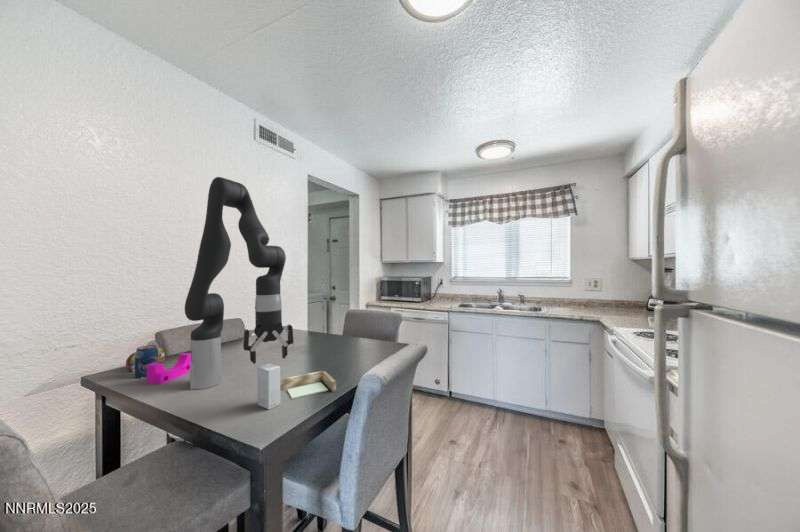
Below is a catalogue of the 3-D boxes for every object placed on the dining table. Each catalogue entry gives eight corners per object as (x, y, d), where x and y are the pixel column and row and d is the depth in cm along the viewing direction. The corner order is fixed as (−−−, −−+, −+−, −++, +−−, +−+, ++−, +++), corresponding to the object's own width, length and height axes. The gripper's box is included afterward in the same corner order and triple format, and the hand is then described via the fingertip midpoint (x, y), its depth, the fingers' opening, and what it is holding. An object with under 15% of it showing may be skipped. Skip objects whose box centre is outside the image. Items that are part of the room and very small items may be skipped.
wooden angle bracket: (286, 403, 92) (286, 392, 92) (279, 389, 103) (279, 379, 103) (336, 391, 101) (336, 381, 101) (324, 379, 112) (324, 370, 112)
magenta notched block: (160, 386, 106) (160, 366, 106) (146, 385, 107) (146, 365, 107) (196, 372, 121) (196, 353, 121) (183, 371, 122) (183, 353, 122)
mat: (292, 399, 95) (292, 398, 95) (287, 390, 102) (287, 389, 102) (327, 390, 101) (327, 389, 101) (320, 382, 108) (320, 381, 108)
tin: (130, 375, 117) (130, 354, 117) (124, 375, 117) (124, 354, 117) (166, 363, 132) (166, 344, 132) (161, 362, 132) (161, 344, 132)
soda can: (139, 382, 110) (139, 350, 110) (131, 378, 113) (131, 347, 113) (161, 376, 116) (161, 346, 116) (153, 373, 119) (153, 343, 119)
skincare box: (280, 404, 91) (280, 366, 92) (268, 410, 88) (268, 370, 88) (269, 399, 95) (269, 363, 95) (256, 405, 91) (256, 366, 91)
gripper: (244, 312, 84) (244, 368, 84) (294, 308, 92) (295, 359, 92) (241, 309, 91) (242, 361, 91) (289, 305, 98) (290, 353, 98)
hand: (269, 360), depth 91 cm, fingers open, 8 cm apart
